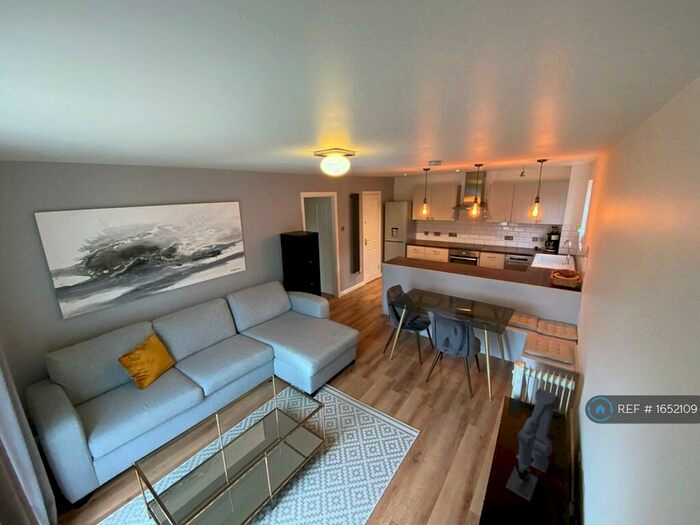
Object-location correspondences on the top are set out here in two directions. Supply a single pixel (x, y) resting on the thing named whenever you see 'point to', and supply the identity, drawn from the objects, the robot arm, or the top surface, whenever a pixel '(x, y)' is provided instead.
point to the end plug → (527, 474)
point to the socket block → (521, 485)
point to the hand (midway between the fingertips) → (524, 474)
